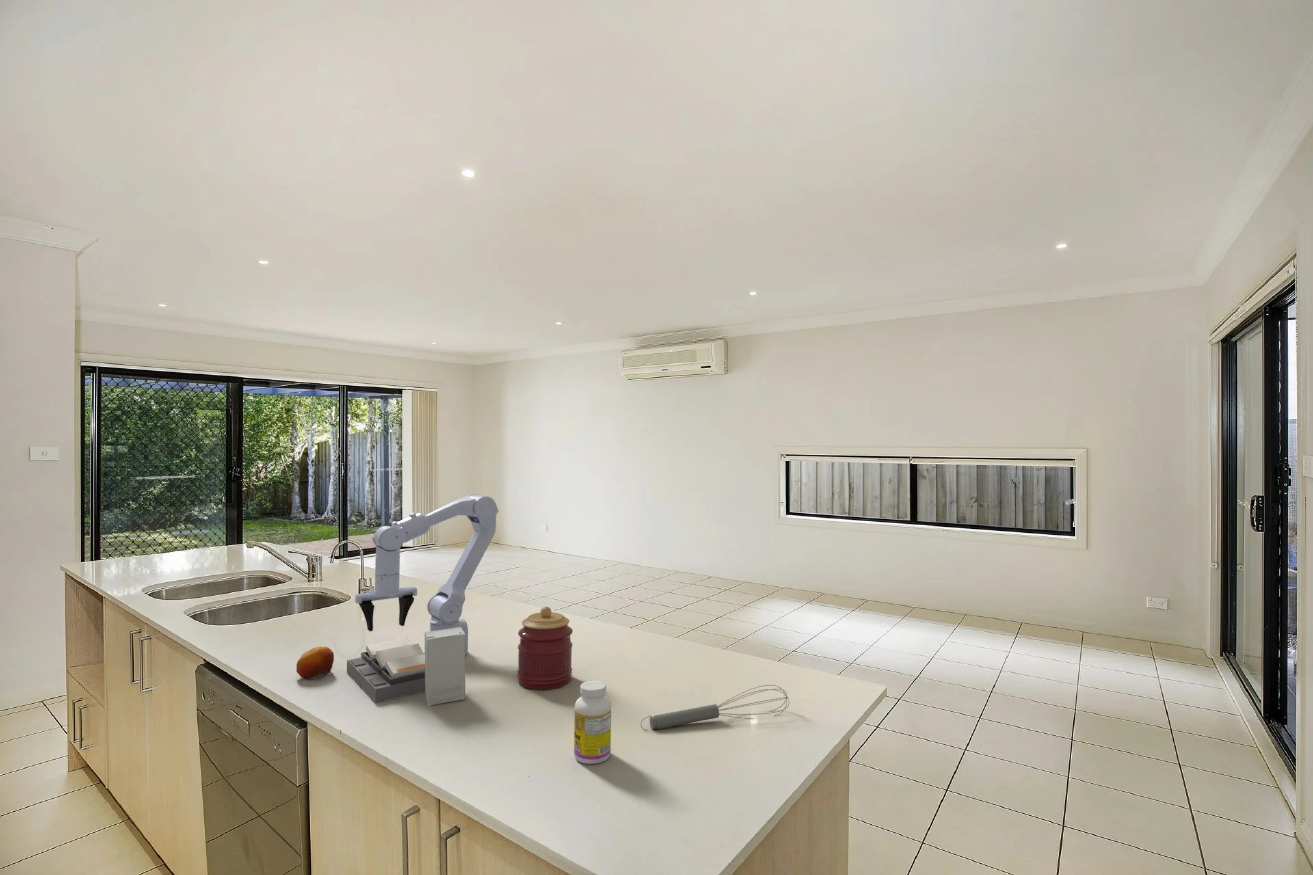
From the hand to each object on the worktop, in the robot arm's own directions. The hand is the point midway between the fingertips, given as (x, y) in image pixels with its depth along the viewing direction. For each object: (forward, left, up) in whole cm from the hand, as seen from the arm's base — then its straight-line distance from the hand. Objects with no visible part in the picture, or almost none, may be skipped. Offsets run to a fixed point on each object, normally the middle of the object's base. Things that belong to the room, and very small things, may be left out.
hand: (386, 627), depth 156 cm
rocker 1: (0, +2, -5) cm, 6 cm away
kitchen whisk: (-44, +75, -10) cm, 88 cm away
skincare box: (-4, +29, -10) cm, 31 cm away
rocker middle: (0, +10, -5) cm, 11 cm away
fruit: (+15, -4, -10) cm, 19 cm away
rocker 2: (0, +18, -5) cm, 19 cm away
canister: (-27, +33, -10) cm, 44 cm away
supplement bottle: (-15, +71, -10) cm, 73 cm away
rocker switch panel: (+1, +8, -10) cm, 13 cm away
